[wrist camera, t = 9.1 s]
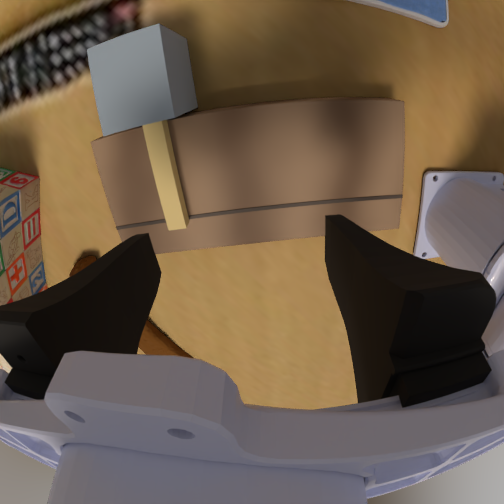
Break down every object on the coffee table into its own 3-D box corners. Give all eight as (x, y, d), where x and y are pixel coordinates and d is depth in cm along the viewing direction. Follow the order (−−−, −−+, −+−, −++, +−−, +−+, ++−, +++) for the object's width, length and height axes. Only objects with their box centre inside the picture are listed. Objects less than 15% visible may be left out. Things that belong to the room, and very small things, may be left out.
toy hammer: (186, 38, 15) (159, 23, 10) (215, 201, 22) (202, 243, 16) (130, 54, 16) (87, 49, 10) (164, 209, 22) (138, 251, 17)
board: (388, 98, 17) (404, 101, 15) (386, 213, 22) (399, 228, 20) (106, 134, 19) (90, 142, 16) (138, 240, 23) (127, 257, 21)
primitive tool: (211, 369, 33) (208, 394, 30) (176, 378, 35) (171, 401, 32) (96, 245, 24) (79, 267, 21) (65, 267, 26) (48, 289, 23)
